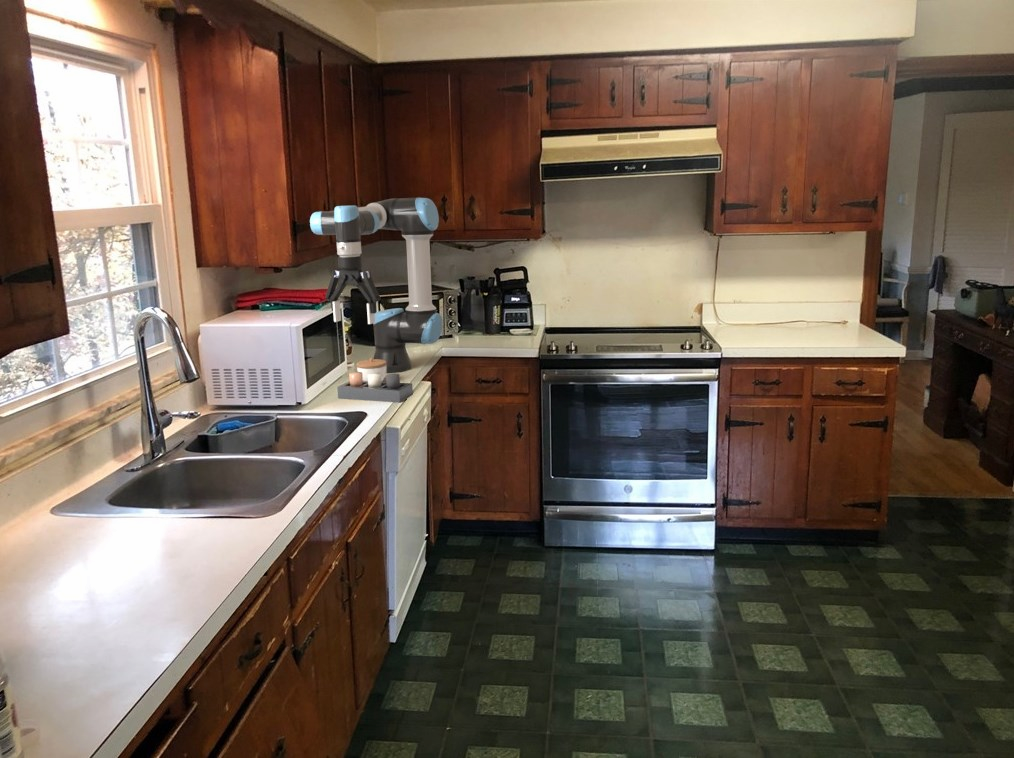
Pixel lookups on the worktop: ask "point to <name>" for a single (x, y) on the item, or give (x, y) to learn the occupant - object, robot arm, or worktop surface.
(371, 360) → the lidded jar
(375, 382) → the cream cup
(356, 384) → the pink rounded cylinder
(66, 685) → the worktop surface
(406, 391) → the dark grey tray
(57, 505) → the worktop surface
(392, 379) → the grey cup
